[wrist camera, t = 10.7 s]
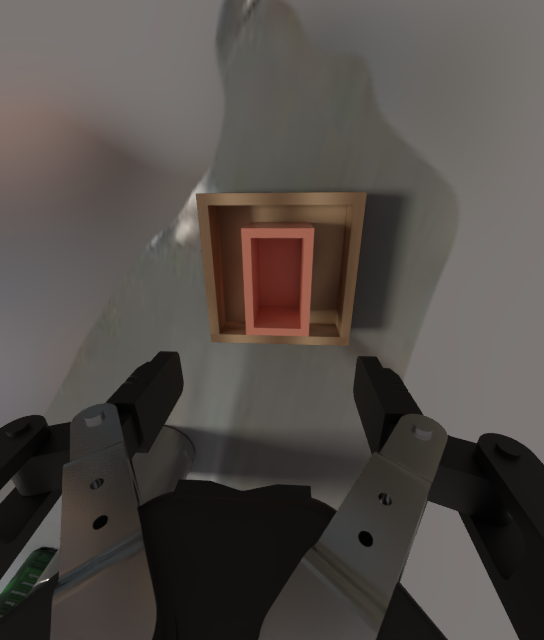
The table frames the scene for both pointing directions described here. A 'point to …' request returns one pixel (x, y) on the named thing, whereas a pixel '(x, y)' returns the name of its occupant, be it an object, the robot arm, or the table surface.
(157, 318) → the table surface
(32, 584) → the coffee jar
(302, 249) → the red open box
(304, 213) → the wooden crate
